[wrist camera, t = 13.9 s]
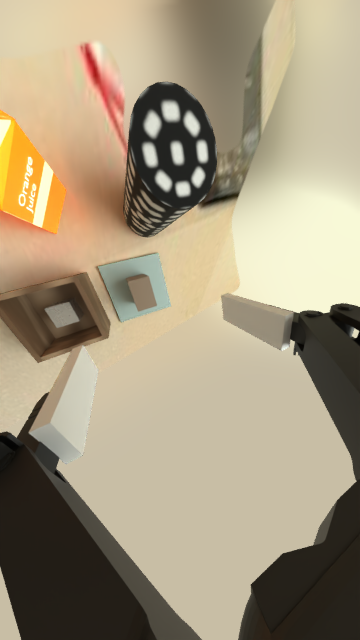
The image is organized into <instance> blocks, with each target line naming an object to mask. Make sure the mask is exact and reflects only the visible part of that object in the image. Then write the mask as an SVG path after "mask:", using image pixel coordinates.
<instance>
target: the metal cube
mask: <svg viewBox="0 0 360 640" xmlns="http://www.w3.org/2000/svg"><path fill="white" fill-rule="evenodd" d="M45 311H46V312H47V314H48V315H49V317H50V318H51V320H52V321H53V323H54V324H55V326H56V327H57V328H59V327H62V326H66V325H69V324H72V323H75V322H78V321H80V320H81V318H82V317H83V315H84V314H83V312H82V310H81V308H80V306H79V305H78V303H77V301H76V299H75V297H74V298H70V299H67V300H63V301H60V302H56V303H53V304H51V305H50V306H48V307H46V308H45Z"/></svg>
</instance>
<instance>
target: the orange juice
mask: <svg viewBox="0 0 360 640" xmlns="http://www.w3.org/2000/svg"><path fill="white" fill-rule="evenodd" d="M65 194H66V189H65V188H64V186H63V185H62V184H61V182H60V181H59V180H58V178H57V177H56V176H55V174H54V173H53V171H52V169H51V168H50V167H49V165H48V164H47V163H46V161H44V159H43V158H42V157H41V155H40V154H39V153H38V151H37V150H36V148H35V147H34V146H33V144H32V143H31V142H30V140H29V139H28V138H27V136H26V135H25V133H24V132H23V131H22V129H21V128H20V127H19V125H18V124H17V123H16V121H15V119H14V118H12V117H11V116H9V115H8V114H6V113H4V112H3V111H1V110H0V210H1V211H4V212H6V213H9V214H11V215H13V216H16V217H18V218H20V219H22V220H25V221H27V222H29V223H32V224H34V225H36V226H39V227H41V228H44V229H46V230H48V231H50V232H53V233H55V234H57V229H58V225H59V220H60V216H61V211H62V207H63V202H64V198H65Z"/></svg>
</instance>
